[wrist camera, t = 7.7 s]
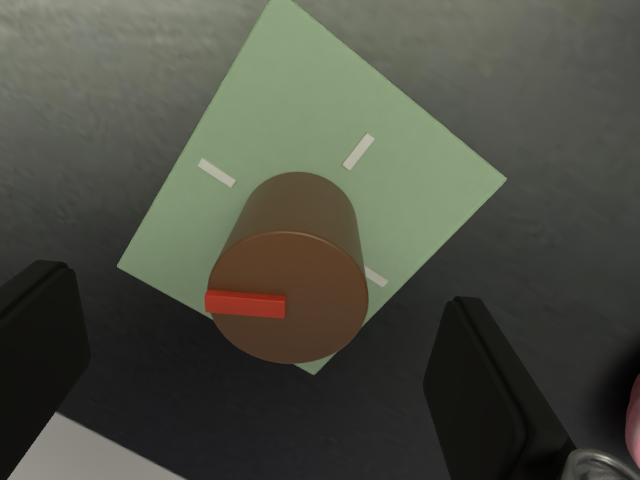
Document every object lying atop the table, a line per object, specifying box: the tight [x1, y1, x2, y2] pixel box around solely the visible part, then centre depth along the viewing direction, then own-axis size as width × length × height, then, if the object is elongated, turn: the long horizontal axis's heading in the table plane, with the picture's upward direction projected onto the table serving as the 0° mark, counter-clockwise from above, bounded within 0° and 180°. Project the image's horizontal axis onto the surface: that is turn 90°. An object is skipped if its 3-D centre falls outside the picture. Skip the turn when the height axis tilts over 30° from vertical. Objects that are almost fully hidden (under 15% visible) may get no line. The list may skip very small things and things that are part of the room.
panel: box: [117, 0, 507, 375], centre depth 16 cm, size 12×10×3 cm
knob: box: [205, 172, 369, 364], centre depth 13 cm, size 4×4×5 cm
